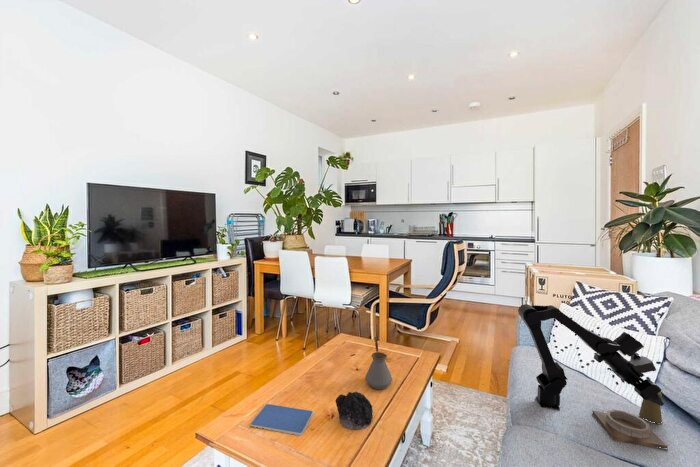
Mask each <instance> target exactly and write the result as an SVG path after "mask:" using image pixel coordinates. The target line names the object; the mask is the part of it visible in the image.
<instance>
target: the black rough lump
mask: <svg viewBox="0 0 700 467" xmlns="http://www.w3.org/2000/svg"><path fill="white" fill-rule="evenodd" d="M335 405H336V407H337V408H336V410H337V412H338V419H339V420H338V421H339V423H340V424H341V425H342V426H343V427H344V428H346V429H349V430H363V429H364V430H365V429H367V428H368V427H370V425H371V423H372V422H373V412H374V411H373V405H372V403H371V402H370V400H369V399H367V396H365V395H364V394H362V393H361V392H358V391H353V392H352V391H348V393H347V394H346V395H345V394H339V395H338V396H337V397H336V399H335Z"/></svg>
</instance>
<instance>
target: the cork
mask: <svg viewBox="0 0 700 467" xmlns="http://www.w3.org/2000/svg"><path fill="white" fill-rule="evenodd" d="M658 395H659V397H660V398H661V400H662V399H663V394H662V391H661V392H659V393H658ZM661 410H662V408H661V406H660V405H658V404H656V403H654V402H651V401H649V400H644V399H643V398H642V401H641V405H640V409H639V412H638V413H639V414H638V416H639V415H640V416H641V417H642V418H644V419H647V420H648V421H651V422H655V423H661V422H662V423H663V419H662V411H661ZM640 416H639V417H640ZM641 417H640V418H641ZM642 418H641V419H642ZM644 419H643V420H644ZM648 421H647V422H648ZM651 422H650V423H651Z"/></svg>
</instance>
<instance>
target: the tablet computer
mask: <svg viewBox="0 0 700 467" xmlns="http://www.w3.org/2000/svg"><path fill="white" fill-rule="evenodd" d="M314 415H315V414H314V410H309V409H302V408H295V407H290V406H283V405H278V404H271V403H266V404H265V405H263V407H262V409H260V411H259V412H258V413H257V414H256V415H255V417H254V418H253V420H252V421H251V422H250V423H249V427H250V426H254V427H253V428H256V427H258V429H262V428H264V429H263V430H267V429H268V431H273V432H279V433H285V434H291V435H294V436H300V437H301V436H303V435H304V433H305V431H306V429H307V427H308V426H309V423H310V421H311V419H312V417H313V416H314Z"/></svg>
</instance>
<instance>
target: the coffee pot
mask: <svg viewBox="0 0 700 467" xmlns="http://www.w3.org/2000/svg"><path fill="white" fill-rule="evenodd" d="M374 342H375V345H374V346H375V351H376V352H373V353H372V354H371V358H372V362H371V364H370V366H369V368H368V369H367V372H366V374H365V381H366V383H367V384H368V385H369V386H370V387H371V388H372V389H374V390H385V389H386V388H388V387H389V386H390V385H391V384H392V381H393V377H392V374H391V372H390V369H389V367H388V365H387V362H386V359H387V357H388V355H387V354H386V353H384V352H379V344H378V337H376V336H375V337H374Z"/></svg>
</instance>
